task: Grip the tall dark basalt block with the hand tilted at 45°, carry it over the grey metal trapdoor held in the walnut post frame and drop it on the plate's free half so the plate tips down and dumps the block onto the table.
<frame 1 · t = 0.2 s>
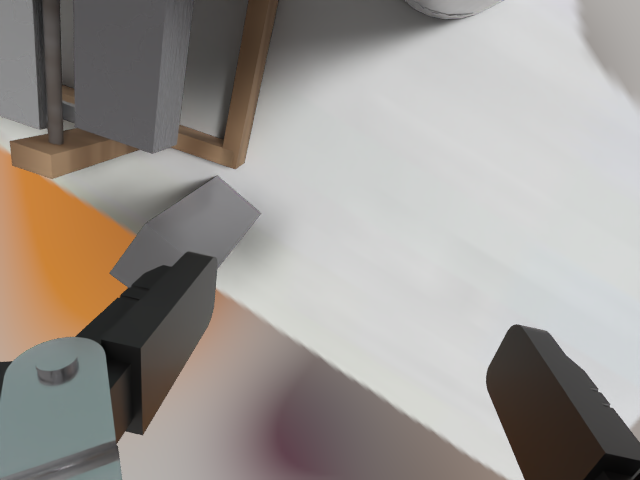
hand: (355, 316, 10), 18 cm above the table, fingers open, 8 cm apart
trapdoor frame: (100, 4, 24), on the table
basalt block: (224, 213, 30), on the table
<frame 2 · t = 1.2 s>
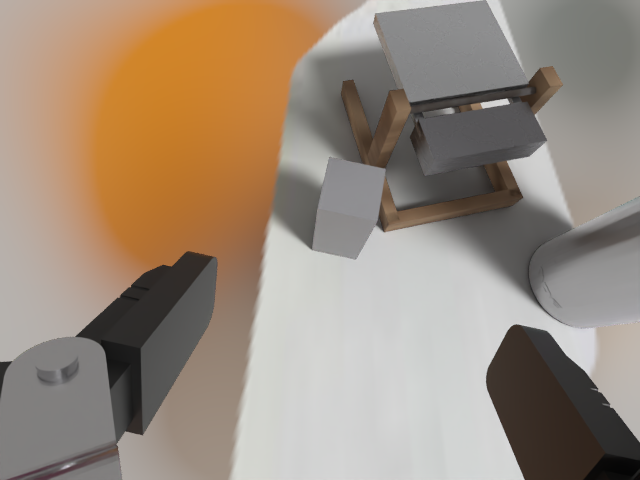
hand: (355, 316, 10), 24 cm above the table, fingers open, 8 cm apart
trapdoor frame: (414, 126, 41), on the table
basalt block: (338, 234, 36), on the table
trapdoor plate: (454, 83, 32), point 9 cm above the table, hinge at 0.0°
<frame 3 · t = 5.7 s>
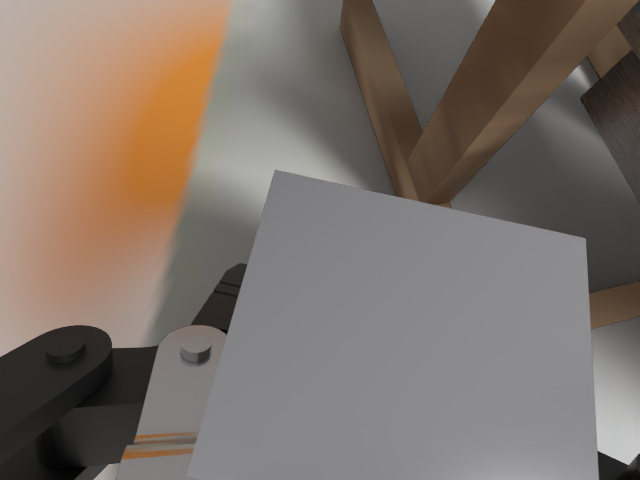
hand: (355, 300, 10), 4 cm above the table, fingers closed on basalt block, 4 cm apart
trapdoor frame: (501, 96, 19), on the table
basalt block: (330, 368, 14), on the table, touching gripper
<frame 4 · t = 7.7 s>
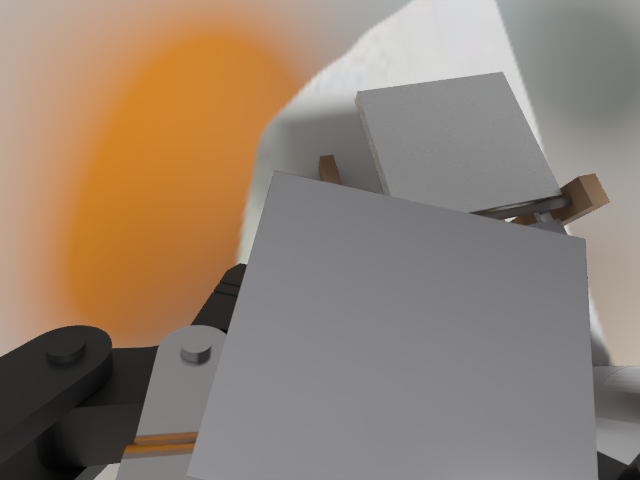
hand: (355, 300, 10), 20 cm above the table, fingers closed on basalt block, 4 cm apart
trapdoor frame: (409, 211, 33), on the table
basalt block: (330, 368, 14), point 15 cm above the table, touching gripper
trapdoor plate: (461, 187, 24), point 9 cm above the table, hinge at 0.0°
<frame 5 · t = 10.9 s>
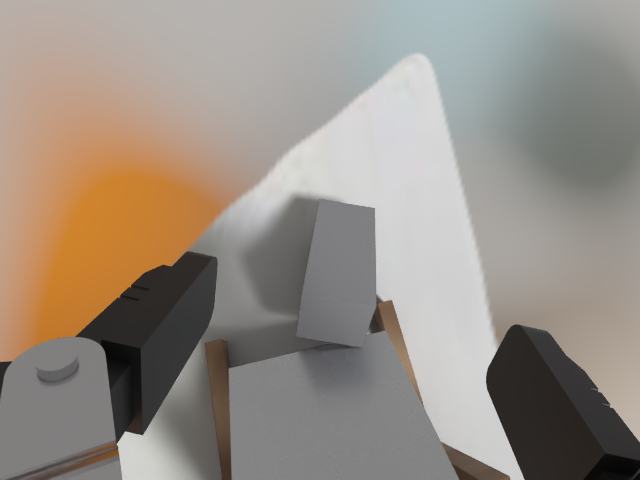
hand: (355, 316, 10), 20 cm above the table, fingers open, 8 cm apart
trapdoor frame: (318, 401, 27), on the table
basalt block: (333, 322, 23), point 7 cm above the table, tilted 119°, touching trapdoor plate
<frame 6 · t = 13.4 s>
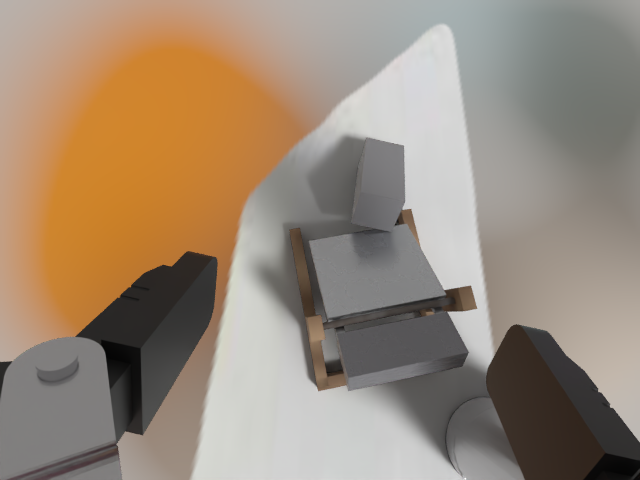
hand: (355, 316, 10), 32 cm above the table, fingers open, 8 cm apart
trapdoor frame: (359, 271, 43), on the table
basalt block: (376, 213, 37), point 7 cm above the table, tilted 120°, touching trapdoor plate
trapdoor plate: (379, 295, 35), point 8 cm above the table, hinge at -34.8°, touching basalt block
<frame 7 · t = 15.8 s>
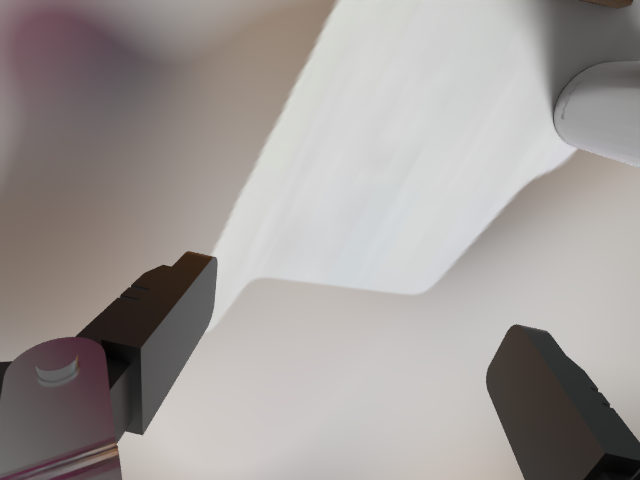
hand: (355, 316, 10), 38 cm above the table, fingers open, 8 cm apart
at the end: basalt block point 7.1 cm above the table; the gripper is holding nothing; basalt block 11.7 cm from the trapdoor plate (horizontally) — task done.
